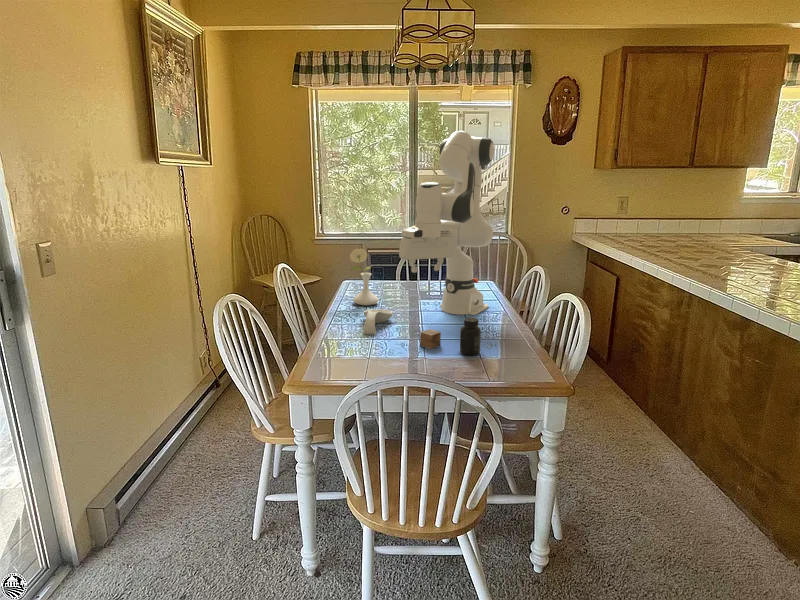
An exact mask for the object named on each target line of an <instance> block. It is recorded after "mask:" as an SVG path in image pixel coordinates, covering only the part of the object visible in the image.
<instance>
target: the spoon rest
mask: <svg viewBox="0 0 800 600" xmlns="http://www.w3.org/2000/svg"><path fill="white" fill-rule="evenodd" d="M363 315H364V317H365V322H364V325H363V330H362V331H363V334H364V335H373V336H374V335H376V334H377V332H376V331H377V330H376V324H382V323H383V324H384V323H385V322H386V321H388V320H390V318H392V316H393V311H392V310H391V309H385V308H382V309H379V308H375V309H373V308H372V309H366V310H364V311H363Z"/></svg>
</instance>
